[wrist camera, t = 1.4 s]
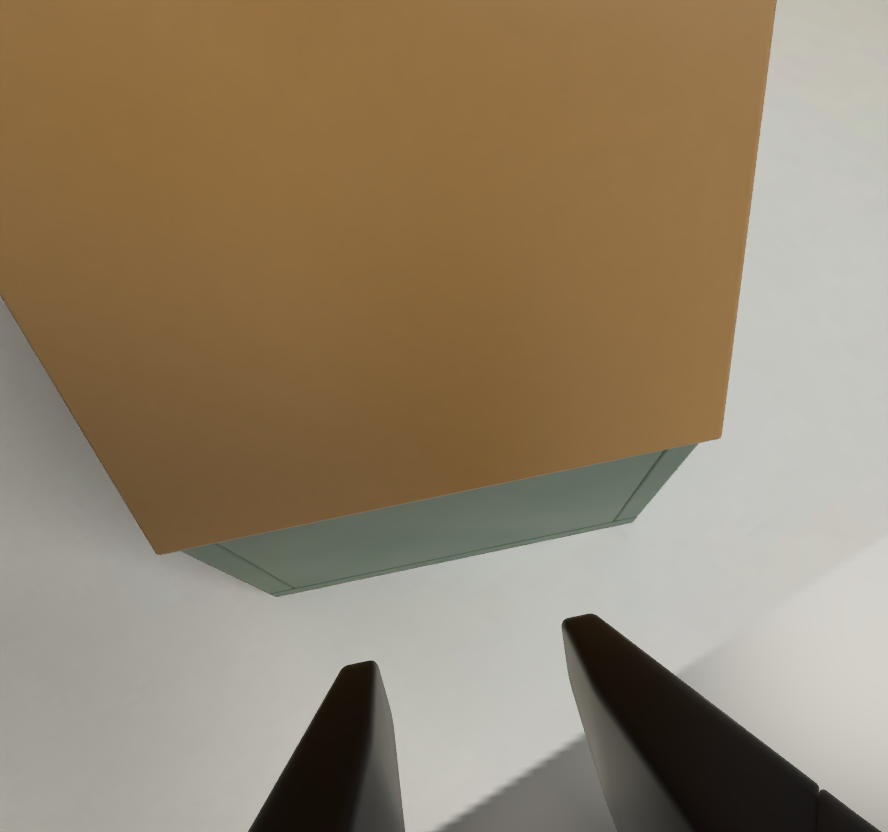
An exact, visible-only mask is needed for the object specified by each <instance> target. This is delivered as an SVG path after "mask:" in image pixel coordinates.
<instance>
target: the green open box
mask: <svg viewBox="0 0 888 832" xmlns="http://www.w3.org/2000/svg"><path fill="white" fill-rule="evenodd" d="M697 445H698V443H696V444H691V445H686V446H681V447H676V448H672V449H667V450H662V451H657V452H652V453H648V454H643V455H638V456H633V457H628V458H624V459H619V460H614V461H609V462H604V463H599V464H595V465H590V466H585V467H580V468H575V469H571V470H566V471H561V472H556V473H551V474H547V475H542V476H537V477H532V478H527V479H522V480H518V481H513V482H508V483H503V484H498V485H494V486H489V487H484V488H479V489H474V490H469V491H465V492H460V493H455V494H450V495H445V496H441V497H436V498H431V499H426V500H421V501H417V502H412V503H407V504H402V505H397V506H392V507H388V508H383V509H378V510H373V511H368V512H364V513H359V514H354V515H349V516H344V517H340V518H335V519H330V520H325V521H320V522H315V523H311V524H306V525H301V526H296V527H291V528H287V529H282V530H277V531H272V532H267V533H262V534H258V535H253V536H248V537H243V538H238V539H234V540H229V541H224V542H219V543H214V544H210V545H205V546H200V547H195V548H190V549H185V550H181V551H182V552H184V553H186V554H188V555H190V556H192V557H194V558H196V559H198V560H200V561H202V562H204V563H207V564H209V565H211V566H213V567H215V568H217V569H219V570H221V571H223V572H225V573H227V574H229V575H232V576H234V577H236V578H238V579H240V580H242V581H244V582H246V583H248V584H250V585H252V586H254V587H256V588H259V589H261V590H263V591H265V592H267V593H270V594H271V595H273V596H276V597H279V596H283V595H288V594H293V593H298V592H303V591H307V590H312V589H317V588H322V587H326V586H331V585H336V584H341V583H345V582H350V581H355V580H360V579H364V578H369V577H374V576H379V575H384V574H388V573H393V572H398V571H403V570H407V569H412V568H417V567H422V566H426V565H431V564H436V563H441V562H445V561H450V560H455V559H460V558H465V557H469V556H474V555H479V554H484V553H488V552H493V551H498V550H503V549H507V548H512V547H517V546H522V545H527V544H531V543H536V542H541V541H546V540H550V539H555V538H560V537H565V536H569V535H574V534H579V533H584V532H588V531H593V530H598V529H603V528H608V527H612V526H617V525H622V524H627V523H631V522H633V521H634V520H635V519H636V517H637V516H638V515H639V514H640V513H641V511H642V510H643V509H644V508H645V507H646V505H647V504H648V503H649V502H650V501H651V499H652V498H653V497H654V496H655V495H656V493H657V492H658V491H659V490H660V489H661V487H662V486H663V485H664V484H665V483H666V482H667V480H668V479H669V478H670V477H671V476H672V474H673V473H674V472H675V471H676V470H677V468H678V467H679V466H680V465H681V464H682V462H683V461H684V460H685V459H686V458H687V457H688V455H689V454H690V453H691V452H692V451H693V449H694V448H695V447H696V446H697Z"/></svg>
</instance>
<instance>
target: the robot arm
mask: <svg viewBox="0 0 888 832" xmlns="http://www.w3.org/2000/svg"><path fill="white" fill-rule="evenodd" d="M562 633H563V641H564V648H565V655H566V662H567V669H568V675H569V679H570V684H571V687H572V691H573V694H574V698H575V701H576V704H577V708H578V711H579V714H580V718H581V721H582V724H583V728H584V731H585V734H586V738H587V741H588V744H589V747H590V751H591V754H592V758H593V761H594V764H595V768H596V771H597V774H598V778H599V781H600V784H601V787H602V790H603V794H604V797H605V800H606V802H607V806H608V808H609V811H610V813H611V816H612V818H613V821H614V823H615V826H616V828H617V831H618V832H881V831H879V830H878V829H877V828H875V827H874V826H873V825H871V824H870V823H868V822H867V821H866V820H864V819H863V818H862V817H860V816H859V815H858V814H856V813H855V812H854V811H852V810H851V809H849V808H848V807H847V806H846V805H844V804H843V803H842V802H840V801H839V800H838V799H837V798H835V797H834V796H833V795H831V794H830V793H829V792H827V791H826V790H820V792H819V786H818V785H817V783H815V782H814V781H812V780H811V779H810V778H809V777H807V776H806V775H805V774H803V773H802V772H801V771H800V770H798V769H797V768H796V767H794V766H793V765H792V764H790V763H789V762H788V761H786V760H785V759H784V758H782V757H781V756H780V755H779V754H777V753H776V752H774V751H773V750H772V749H771V748H769V747H768V746H767V745H766V744H764V743H763V742H762V741H760V740H759V739H758V738H756V737H755V736H754V735H752V734H751V733H750V732H748V731H747V730H746V729H745V728H743V727H742V726H741V725H739V724H738V723H737V722H735V721H734V720H733V719H732V718H730V717H729V716H728V715H726V714H725V713H724V712H722V711H721V710H720V709H718V708H717V707H716V706H715V705H713V704H712V703H711V702H709V701H708V700H707V699H705V698H704V697H703V696H701V695H700V694H699V693H698V692H696V691H695V690H694V689H692V688H691V687H690V686H688V685H687V684H686V683H684V682H683V681H682V680H681V679H679V678H678V677H677V676H675V675H674V674H673V673H671V672H670V671H669V670H667V669H666V668H665V667H664V666H662V665H661V664H660V663H658V662H657V661H656V660H654V659H653V658H652V657H650V656H649V655H648V654H647V653H645V652H644V651H643V650H641V649H640V648H639V647H637V646H636V645H635V644H633V643H632V642H631V641H630V640H628V639H627V638H626V637H624V636H623V635H622V634H620V633H619V632H618V631H616V630H615V629H614V628H613V627H611V626H610V625H609V624H607V623H606V622H605V621H603V620H602V619H601V618H599V617H598V616H597V615H594V614H586V615H581V616H576V617H572V618H567V619H565V620H564V621H563V623H562ZM248 832H405V828H404V819H403V809H402V800H401V791H400V781H399V772H398V763H397V753H396V744H395V735H394V726H393V720H392V714H391V710H390V706H389V703H388V699H387V695H386V692H385V688H384V685H383V681H382V677H381V674H380V670H379V667H378V665H377V664H376V662H374V661H366V662H361V663H356V664H352V665H347V666H345V667H344V668H343V669H342V670H341V671H340V673H339V674H338V676H337V678H336V679H335V681H334V683H333V685H332V686H331V688H330V690H329V692H328V693H327V695H326V697H325V699H324V700H323V702H322V704H321V706H320V707H319V709H318V711H317V713H316V714H315V716H314V718H313V720H312V721H311V723H310V725H309V727H308V728H307V730H306V732H305V734H304V735H303V737H302V739H301V741H300V742H299V744H298V746H297V747H296V749H295V751H294V753H293V754H292V756H291V758H290V760H289V761H288V763H287V765H286V767H285V768H284V770H283V772H282V774H281V775H280V777H279V779H278V781H277V782H276V784H275V786H274V788H273V789H272V791H271V793H270V795H269V796H268V798H267V800H266V802H265V803H264V805H263V807H262V808H261V810H260V812H259V814H258V815H257V817H256V819H255V821H254V822H253V824H252V826H251V828H250V829H249V831H248Z"/></svg>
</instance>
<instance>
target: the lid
mask: <svg viewBox="0 0 888 832" xmlns="http://www.w3.org/2000/svg"><path fill="white" fill-rule="evenodd" d="M776 1H777V0H0V295H1V297H2V299H3V300H4V302H5V304H6V305H7V307H8V309H9V310H10V312H11V314H12V315H13V317H14V319H15V320H16V322H17V324H18V325H19V327H20V329H21V330H22V332H23V334H24V335H25V337H26V339H27V340H28V342H29V344H30V345H31V347H32V349H33V350H34V352H35V354H36V355H37V357H38V358H39V360H40V362H41V363H42V365H43V367H44V368H45V370H46V372H47V373H48V375H49V377H50V378H51V380H52V382H53V383H54V385H55V387H56V388H57V390H58V392H59V393H60V395H61V397H62V398H63V400H64V402H65V403H66V405H67V407H68V408H69V410H70V412H71V413H72V415H73V417H74V418H75V420H76V422H77V423H78V425H79V427H80V428H81V430H82V432H83V433H84V435H85V437H86V438H87V440H88V442H89V443H90V445H91V447H92V448H93V450H94V452H95V453H96V455H97V457H98V458H99V460H100V462H101V463H102V465H103V466H104V468H105V470H106V471H107V473H108V475H109V476H110V478H111V480H112V481H113V483H114V485H115V486H116V488H117V490H118V491H119V493H120V495H121V496H122V498H123V500H124V501H125V503H126V505H127V506H128V508H129V510H130V511H131V513H132V515H133V516H134V518H135V520H136V521H137V523H138V525H139V526H140V528H141V530H142V531H143V533H144V535H145V536H146V538H147V540H148V541H149V543H150V545H151V546H152V548H153V550H154V551H155V553H156V554H158V555H161V554H166V553H171V552H176V551H181V550H185V549H190V548H195V547H200V546H205V545H210V544H214V543H219V542H224V541H229V540H234V539H238V538H243V537H248V536H253V535H258V534H262V533H267V532H272V531H277V530H282V529H287V528H291V527H296V526H301V525H306V524H311V523H315V522H320V521H325V520H330V519H335V518H340V517H344V516H349V515H354V514H359V513H364V512H368V511H373V510H378V509H383V508H388V507H392V506H397V505H402V504H407V503H412V502H417V501H421V500H426V499H431V498H436V497H441V496H445V495H450V494H455V493H460V492H465V491H469V490H474V489H479V488H484V487H489V486H494V485H498V484H503V483H508V482H513V481H518V480H522V479H527V478H532V477H537V476H542V475H547V474H551V473H556V472H561V471H566V470H571V469H575V468H580V467H585V466H590V465H595V464H599V463H604V462H609V461H614V460H619V459H624V458H628V457H633V456H638V455H643V454H648V453H652V452H657V451H662V450H667V449H672V448H676V447H681V446H686V445H691V444H696V443H701V442H705V441H710V440H715V439H719V438H720V437H721V436H722V428H723V420H724V412H725V404H726V396H727V388H728V380H729V372H730V365H731V357H732V349H733V341H734V333H735V325H736V317H737V309H738V301H739V293H740V286H741V278H742V270H743V262H744V254H745V246H746V238H747V230H748V222H749V215H750V207H751V199H752V191H753V183H754V175H755V167H756V159H757V151H758V143H759V136H760V128H761V120H762V112H763V104H764V96H765V88H766V80H767V72H768V65H769V57H770V49H771V41H772V33H773V25H774V17H775V9H776Z"/></svg>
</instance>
